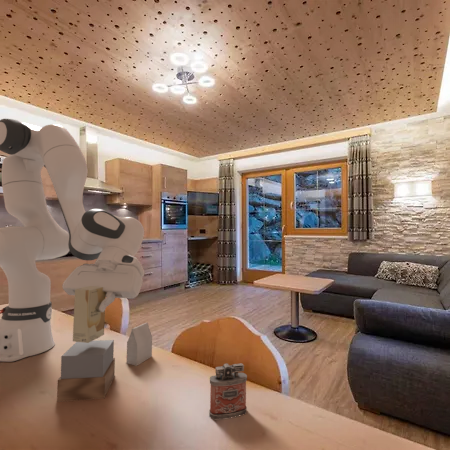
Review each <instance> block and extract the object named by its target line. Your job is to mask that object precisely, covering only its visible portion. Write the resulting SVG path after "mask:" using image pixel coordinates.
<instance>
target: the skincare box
mask: <svg viewBox="0 0 450 450" xmlns="http://www.w3.org/2000/svg"><path fill="white" fill-rule="evenodd" d="M105 296H106V292H104V291H103V287H99V286H87V287H82V288H79V289H75V295H74V304H73V325H72V326H73V327H72V342H74V343H76V342H84V343H89V342H91V341H96V339H97V340H98V338H101V337H102V336H104V335H105V319H106V318H105V317H106V310H105V311H104V312H97V311H96V310H95V308H96V306H97V304H98V302H102V301H103V300H104V299H105V298H106V297H105Z"/></svg>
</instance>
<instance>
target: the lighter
mask: <svg viewBox="0 0 450 450" xmlns="http://www.w3.org/2000/svg"><path fill="white" fill-rule="evenodd" d="M244 371H245V365H244V364H243V363H241V362H240V363H233V364H231V365H230V363H224V364H223V365H222V366H216V367H215V375H212V376H210V378H209V385H210V398H209V399H210V400H209V401H210V402H209V403H210V404H209V411H208V413H209V414H208V415H209V418H210V419H211V420H224V419H223V418H228V419H232V418H231V417H234V418H236V417H235V416H238V417H240V416H239V415H241V416H243V414H244V415H246V414H247V412H248V411H247V410H248V409H247V381H248V375H247V374H246V373H244Z"/></svg>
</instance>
